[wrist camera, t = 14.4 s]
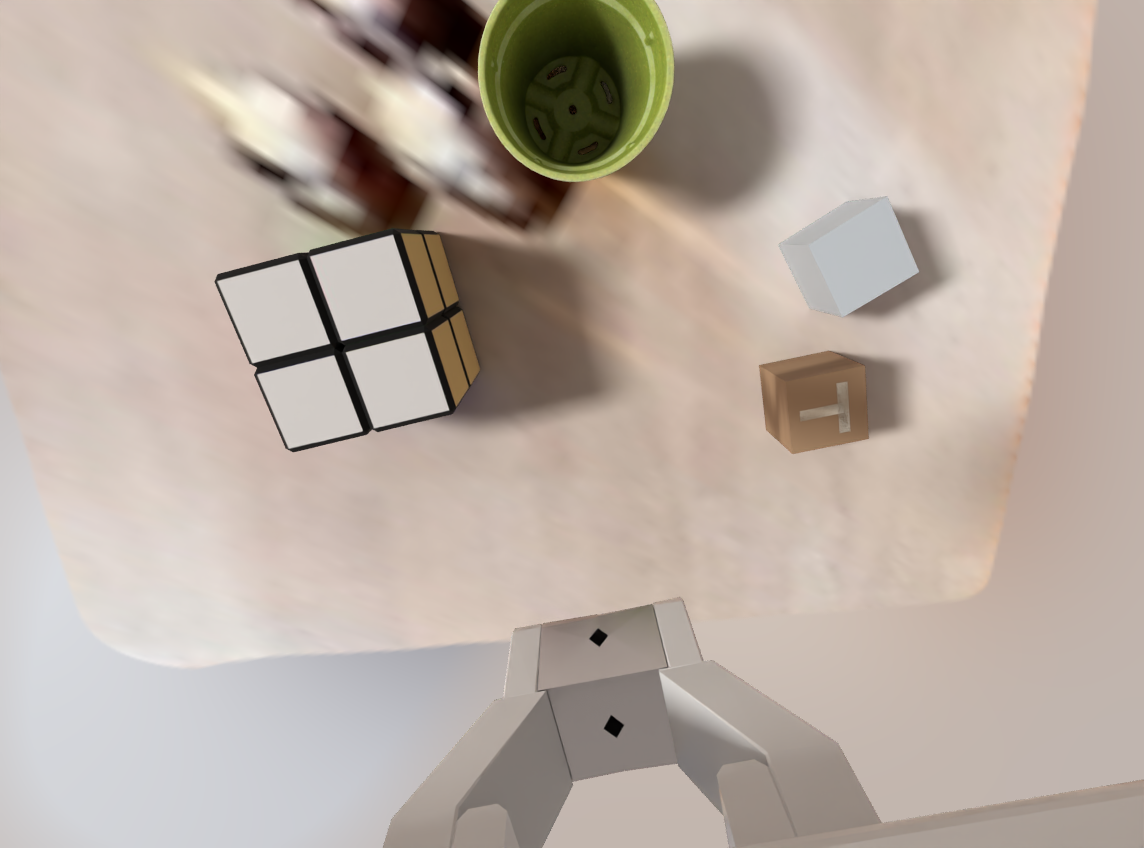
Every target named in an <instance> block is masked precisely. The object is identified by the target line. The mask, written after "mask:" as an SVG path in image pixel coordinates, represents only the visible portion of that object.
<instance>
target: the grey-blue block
mask: <svg viewBox="0 0 1144 848" xmlns="http://www.w3.org/2000/svg"><path fill="white" fill-rule="evenodd" d="M778 246H779V248H780V250H781V252H782V254H783V256H784V258H785V260H786V262H787V264H788V266H789V268H790V270H791V272H792V275H793V277H794V279H795V281H796V283H797V285H798V287H799V289H800V291H801V293H802V295H803V297H804V299H805V301H806V303H807V305H808V307H809V308H810V309H814V310H817V311H821V312H825V313H828V314H832V315H836V316H839V317H844V316H846V315H848V314H849V313H851V312H853V311H854V310H856V309H858V308H859V307H861V306H863V305H864V304H866V303H868V302H870V301H871V300H873V299H875V298H876V297H878V296H880V295H881V294H883V293H885V292H886V291H888V290H890V289H892V288H893V287H895V286H897V285H898V284H900V283H902V282H903V281H905V280H907V279H908V278H910V277H912V276H914V275H915V274H917V273H919V270H918V268H917V265H916V263H915V261H914V258H913V256H912V254H911V251H910V249H909V246H908V244H907V242H906V239H905V237H904V235H903V232H902V230H901V228H900V225H899V223H898V220H897V218H896V216H895V213H894V211H893V209H892V206H891V204H890V201H889V199H888V197H887V196H885V197H877V198H870V199H863V200H856V201H848V202H845V203H843V204H842V205H840V206H839V207H837V208H835V209H834V210H832V211H831V212H829V213H827V214H826V215H824V216H823V217H821V218H819V219H818V220H816V221H815V222H813V223H811V224H810V225H808V226H807V227H805V228H803V229H802V230H800V231H799V232H797V233H795V234H794V235H792V236H791V237H789V238H787V239H786V240H784V241H783V242H781V243H779V244H778Z"/></svg>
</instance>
